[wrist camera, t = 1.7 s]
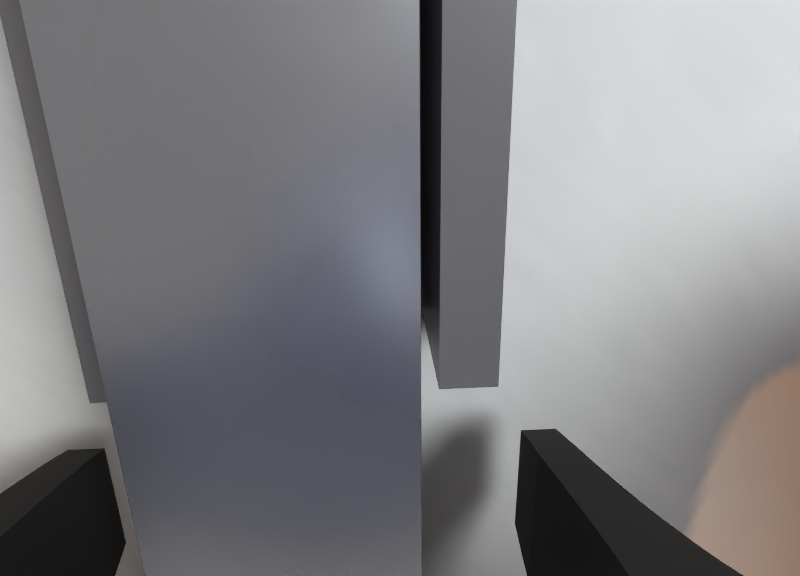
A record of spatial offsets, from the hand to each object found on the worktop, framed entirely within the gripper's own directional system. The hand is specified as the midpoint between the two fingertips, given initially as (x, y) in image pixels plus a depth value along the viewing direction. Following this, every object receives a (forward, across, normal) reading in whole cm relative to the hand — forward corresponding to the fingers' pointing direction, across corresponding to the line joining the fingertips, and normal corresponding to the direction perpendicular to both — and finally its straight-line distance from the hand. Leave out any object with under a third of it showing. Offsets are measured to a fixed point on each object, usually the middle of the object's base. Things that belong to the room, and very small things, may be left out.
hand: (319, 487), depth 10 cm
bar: (+2, 0, -2) cm, 2 cm away
